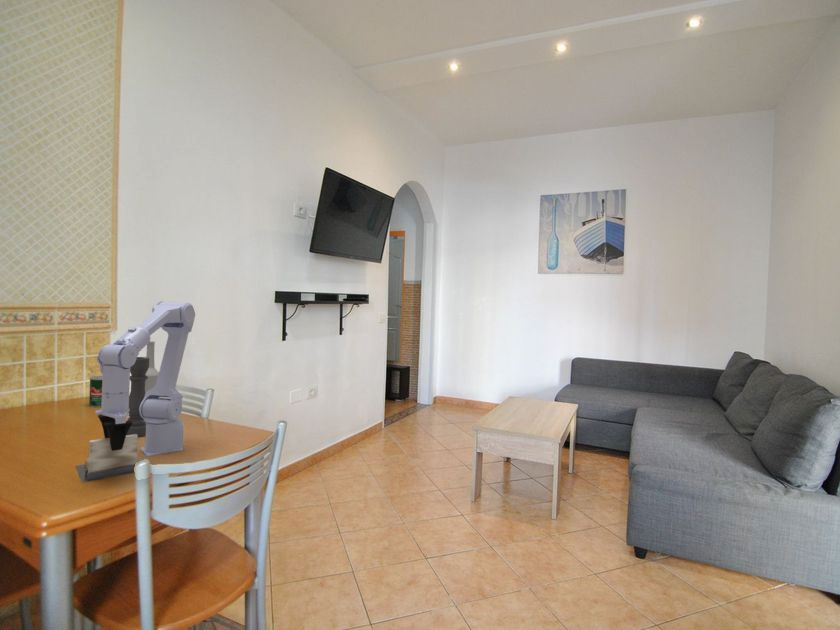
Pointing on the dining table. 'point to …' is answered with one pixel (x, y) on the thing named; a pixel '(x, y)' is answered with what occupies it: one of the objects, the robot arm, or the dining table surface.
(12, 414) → the dining table surface
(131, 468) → the rack
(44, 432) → the dining table surface
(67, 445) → the dining table surface
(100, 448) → the beige flat block
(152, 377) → the bottle
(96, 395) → the canned tomato
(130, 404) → the candle holder
